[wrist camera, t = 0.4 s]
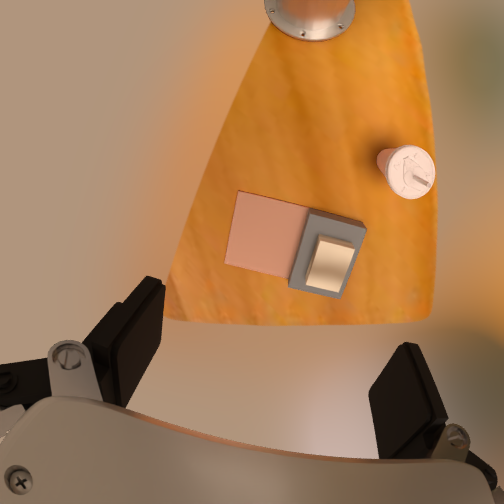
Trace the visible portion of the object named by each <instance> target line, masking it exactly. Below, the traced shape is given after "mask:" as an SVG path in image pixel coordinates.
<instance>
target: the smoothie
mask: <svg viewBox="0 0 504 504" xmlns="http://www.w3.org/2000/svg"><path fill="white" fill-rule="evenodd" d="M377 166H378V168H379V169H380V170H381V172H382V173H383V174H384V176H385V177H386V179H387V182H388V184H389V186H390V188H391V189H392V190H393V191H394V192H395V193H396V194H398V195H400V196H402V197H404V198H407V199H416V198H419V197H421V196H423V195H424V194H426V193H427V192H428V191H429V190H430V188H431V186H432V184H433V182H434V178H435V167H434V163H433V161H432V159H431V157H430V156H429V154H428V153H427V152H426V151H424V150H423V149H421V148H419V147H417V146H413V145H404V146H401V147H398V148H391V149H384V150H382V151H381V152H380V153H379V154H378V156H377Z"/></svg>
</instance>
